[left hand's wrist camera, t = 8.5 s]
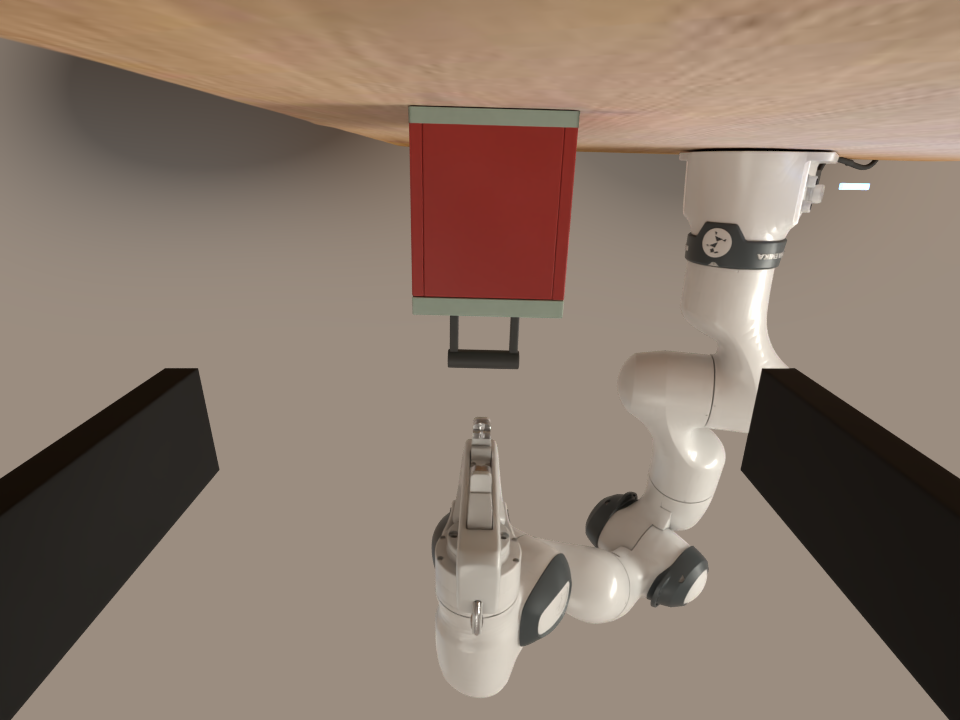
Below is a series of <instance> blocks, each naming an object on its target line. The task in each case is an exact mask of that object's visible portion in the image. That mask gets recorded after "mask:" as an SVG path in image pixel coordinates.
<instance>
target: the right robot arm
mask: <svg viewBox="0 0 960 720" xmlns="http://www.w3.org/2000/svg"><path fill="white" fill-rule="evenodd" d="M679 160H687V166H686V178H685V190H684V203H683V214H684V215H685V217H686V218H687V220H688V221H689V224H690V227H691V232H690V233H689V234H688V237H687V243H686V246H685V250H686V252H685V258H686V259H687V266H686V272H685V279H684V285H683V291H682V297H681V304H680V307H681V312H682V315H683V317H684V318H685V320H686V321H687V322H688V323H689V324H690V325H691V326H693V327H694V328H695V329H697V330H699V331H700V332H702V333H704V334H705V335H707V336H709V337H711V338H712V339H714V340H715V341H716V342H717V343H718V348H717V352H716V353H715V354H711V355H705V354H695V353H685V352H675V351H652V352H642V353H635V354H633V355H632V356H631V357H630V358H629V359H628V360H627V361H626V362H625V363H624V365H623V366H622V368H621V370H620V372H619V375H618V380H617V391H618V395H619V399H620V401H621V403H622V405H623V406H624V408H625V409H626V410H627V412H628V413H630V414H631V415H633V416H634V417H636V418H637V419H638V420H640V421H641V422H642V423H643V424H644V425H645V427H646V428H647V429H648V431H649V432H650V434H651V436H652V440H653V449H652V457H651V463H650V467H649V473H648V479H647V486H646V490H645V492H644V494H643V495H642V497H641V498H640V499H639V500H637V494H636V493H634V492H627V493H625V494H616V495H613V496H609V497H606V498H604V499H603V500H601V501H600V502H599V503H598V504H597V505H596V506H595V507H594V509H593V510H592V511H591V513H590V515H589V517H588V519H587V522H586V535H587V537H588V538H589V540H590V541H591V543H592V544H593V545H594V546H595V547H596V548H595V547H589V546H583V545H576V544H569V543H564V542H559V541H553V540H548V539H542V538H536V537H533V536H531V535H529V534H527V533H525V532H523V531H522V530H520V529H518V528H516V527H514V526H512V525H511V524H510V520H509V515H508V510H507V505H506V502H503V499H502V491H501V480H500V468H499V456H498V448H497V443H496V441H495V440H491V437H490V423H491V422H490V419H489V418H487V417H476V418H474V420H473V435H472V439H468V440H467V441H466V443H465V446H464V451H463V457H462V464H461V471H460V478H459V485H458V491H457V497H456V500H454V501H453V502H452V507H451V509H450V513H448V514H447V515H446V516H444V517H443V518H442V520H441V521H440V522H439V524H438V525H437V527H436V529H435V531H434V534H433V538H432V557H433V563H434V567H435V592H436V597H437V600H438V603H439V605H438V607H437V610H436V616H435V637H436V650H437V657H438V662H439V666H440V669H441V671H442V674H443V676H444V678H445V679H446V681H447V682H448V683H449V684H450V685H451V686H452V687H453V688H454V689H456V690H457V691H459V692H460V693H462V694H464V695H467V696H470V697H476V698H485V697H490V696H493V695H495V694H496V693H498V692H499V691H500V690H501V689H502V688H503V687H504V686H505V684H506V683H507V681H508V679H509V677H510V674H511V671H512V668H513V666H514V663H515V661H516V658H517V656H518V654H519V653H520V651H521V649H522V648H523V646H526V645H529V644H531V643H533V642H535V641H537V640H539V639H541V638H543V637H544V636H546V635H548V634H549V633H550V632H551V631H553V630H554V629H555V627H556V626H557V625H558V624H559V622H560V621H561V620H562V618H563V616H564V614H565V612H566V613H567V614H569V615H571V616H572V617H574V618H576V619H579V620H581V621H583V622H587V623H595V624H596V623H605V622H610V621H613V620H616V619H618V618H620V617H622V616H623V615H625V614H626V613H627V612H628V611H629V610H630V609H631V608H632V607H633V605H634V604H635V603H636V601H637V600H638V599H639V598H640V597H646V598H647V599H649V600H651V606H652V607H657V606H658V605H659V604H661V605H664V606H668V607H678V606H684V605H686V604H687V603H688V602H690V601H692V600H693V599H695V598H696V597H697V596H698V595H699V594H700V593H701V591H702V590H703V588H704V586H705V583H706V579H707V573H708V562H707V560H706V559H705V558H704V556H703V555H702V554H701V553H700V552H699V551H698V550H697V549H696V548H695V547H694V546H690V545H689V544H688V543H687V542H685V541H684V540H683V539H682V538H681V537H680V536H679V535H677V534H676V533H675V532H674V530H686V529H689V528H691V527H693V526H694V525H695V524H696V523H697V522H698V521H699V520H700V518H701V517H702V516H703V514H704V513H705V511H706V509H707V508H708V506H709V504H710V502H711V500H712V498H713V495H714V493H715V490H716V487H717V484H718V481H719V478H720V475H721V472H722V469H723V466H724V463H725V450H724V447H723V444H722V443H721V441H720V440H719V438H718V437H717V436H716V435H715V433H714V432H713V431H712V430H711V429H709V428H712V429H720V430H728V431H735V432H743V433H748V432H749V428H750V423H751V418H752V413H753V409H754V404H755V399H756V395H757V390H758V385H759V380H760V376H761V371H762V368H789V367H788V366H786V365H785V364H784V363H783V362H782V361H781V359H780V358H779V357H778V355H777V354H776V352H775V351H774V349H773V347H772V345H771V342H770V339H769V336H768V331H767V309H768V302H769V295H770V289H771V283H772V279H773V274H774V269H775V267H777V266H778V265H779V263H780V260H781V257H782V256H783V253H784V248H785V245H786V242H787V239H786V238H785V237H786V235H787V233H788V232H789V230H790V229H791V228H793V227H794V226H795V225H796V224H797V223H798V219H799V217H800V216H801V214H802V212H810V209H811V206H812V203H821V201H822V197H823V193H824V189H825V186H824V185H818V184H819V180H820V175H821V171H822V169H823V168H824V166H825V164H826V163H837V162H840V163H843V164H845V165H846V166H851V167H853V168H856V169H859V170H866V169H870V168H871V167H873V166H874V165H875V164H876V163H877V162H878V160H872V162H870V163H869V164H867V165H860V164H858V163H855V162H854V161H853V160H850V159H846V158H843V157H839V155H838V154H837V153H836V152H785V151H704V152H686V153H680V155H679ZM869 186H870V184H849V183H841V184H840V187H839V189H857V190H858V189H859V190H868V189H869Z"/></svg>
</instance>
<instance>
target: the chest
mask: <svg viewBox="0 0 960 720" xmlns="http://www.w3.org/2000/svg"><path fill="white" fill-rule="evenodd" d="M408 107H409V141H410V195H411V248H412V295H413V296H429V297H468V298H507V299H546V300H551V299H552V300H564V292H565V279H566V268H567V256H568V244H569V232H570V219H571V207H572V195H573V183H574V171H575V159H576V147H577V135H578V127H579V115H580V111H557V110H523V109H488V108H454V107H419V106H408Z"/></svg>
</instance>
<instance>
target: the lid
mask: <svg viewBox="0 0 960 720" xmlns="http://www.w3.org/2000/svg"><path fill="white" fill-rule="evenodd" d="M563 304H564V301H563V300H552V299H551V300H546V299H507V298H468V297H429V296H413V297H412V306H413V314H414V315H450V349H449V350H448V367H451V368H491V369H518V368H519V351H518V333H519V317H532V318H562V316H563ZM459 316H493V317H511V322H510V343H509V351H503V350H462V349H458V322H459Z"/></svg>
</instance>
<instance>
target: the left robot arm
mask: <svg viewBox="0 0 960 720" xmlns="http://www.w3.org/2000/svg"><path fill="white" fill-rule="evenodd" d="M218 471H219V466H218V461H217V456H216V451H215V447H214V442H213V437H212V432H211V428H210V423H209V418H208V413H207V409H206V404H205V399H204V395H203V390H202V385H201V380H200V376H199V371H198V368H165V369H163V370H162V371H160V372H159V373H157V374H156V375H154V376H153V377H151V378H150V379H148V380H147V381H145V382H144V383H142V384H141V385H139V386H138V387H136V388H135V389H133V390H132V391H130V392H129V393H128V394H126V395H125V396H123V397H122V398H120V399H119V400H117V401H116V402H114V403H113V404H111V405H110V406H108V407H107V408H105V409H104V410H102V411H101V412H99V413H98V414H96V415H95V416H93V417H92V418H90V419H89V420H87V421H86V422H84V423H83V424H81V425H80V426H78V427H77V428H75V429H74V430H72V431H71V432H69V433H68V434H66V435H65V436H63V437H62V438H60V439H59V440H57V441H56V442H54V443H53V444H51V445H50V446H48V447H47V448H45V449H44V450H42V451H41V452H39V453H38V454H36V455H35V456H33V457H32V458H30V459H29V460H27V461H26V462H24V463H23V464H21V465H20V466H18V467H17V468H16V469H14V470H13V471H11V472H10V473H8V474H7V475H5V476H4V477H2V478H1V479H0V720H11V719H12V718H13V716H14V715H15V714H16V713H17V712H18V711H19V709H20V708H21V707H22V706H23V705H24V703H25V702H26V701H27V700H28V699H29V697H30V696H31V695H32V694H33V692H34V691H35V690H36V689H37V688H38V686H39V685H40V684H41V683H42V682H43V681H44V679H45V678H46V677H47V676H48V675H49V673H50V672H51V671H52V670H53V669H54V667H55V666H56V665H57V664H58V663H59V661H60V660H61V659H62V658H63V656H64V655H65V654H66V653H67V652H68V651H69V649H70V648H71V647H72V646H73V645H74V643H75V642H76V641H77V640H78V639H79V637H80V636H81V635H82V634H83V633H84V631H85V630H86V629H87V628H88V627H89V625H90V624H91V623H92V622H93V621H94V619H95V618H96V617H97V616H98V615H99V613H100V612H101V611H102V610H103V609H104V607H105V606H106V605H107V604H108V603H109V601H110V600H111V599H112V598H113V597H114V595H115V594H116V593H117V592H118V591H119V589H120V588H121V587H122V586H123V585H124V583H125V582H126V581H127V580H128V579H129V578H130V576H131V575H132V574H133V573H134V571H135V570H136V569H137V568H138V567H139V565H140V564H141V563H142V562H143V561H144V560H145V558H146V557H147V556H148V555H149V554H150V552H151V551H152V550H153V549H154V547H155V546H156V545H157V544H158V543H159V542H160V540H161V539H162V538H163V537H164V536H165V534H166V533H167V532H168V531H169V530H170V528H171V527H172V526H173V525H174V524H175V522H176V521H177V520H178V519H179V518H180V516H181V515H182V514H183V513H184V512H185V510H186V509H187V508H188V507H189V506H190V504H191V503H192V502H193V501H194V500H195V498H196V497H197V496H198V495H199V494H200V492H201V491H202V490H203V489H204V488H205V486H206V485H207V484H208V483H209V482H210V480H211V479H212V478H213V477H214V476H215V474H216V473H217V472H218ZM741 471H742V472H743V473H744V474H745V476H746V477H747V478H748V479H749V480H750V482H751V483H752V484H753V485H754V486H755V488H756V489H757V490H758V491H759V492H760V494H761V495H762V496H763V497H764V498H765V500H766V501H767V502H768V503H769V504H770V506H771V507H772V508H773V509H774V510H775V512H776V513H777V514H778V515H779V516H780V517H781V519H782V520H783V521H784V522H785V524H786V525H787V526H788V527H789V528H790V530H791V531H792V532H793V533H794V534H795V536H796V537H797V538H798V539H799V540H800V541H801V543H802V544H803V545H804V546H805V548H806V549H807V550H808V551H809V552H810V554H811V555H812V556H813V557H814V558H815V560H816V561H817V562H818V563H819V564H820V565H821V567H822V568H823V569H824V570H825V572H826V573H827V574H828V575H829V576H830V578H831V579H832V580H833V581H834V582H835V583H836V585H837V586H838V587H839V588H840V589H841V591H842V592H843V593H844V594H845V595H846V597H847V598H848V599H849V600H850V601H851V603H852V604H853V605H854V606H855V607H856V609H857V610H858V611H859V612H860V613H861V615H862V616H863V617H864V618H865V619H866V621H867V622H868V623H869V624H870V625H871V627H872V628H873V629H874V630H875V631H876V633H877V634H878V635H879V636H880V637H881V639H882V640H883V641H884V642H885V643H886V645H887V646H888V647H889V648H890V649H891V651H892V652H893V653H894V654H895V655H896V657H897V658H898V659H899V660H900V661H901V663H902V664H903V665H904V666H905V667H906V669H907V670H908V671H909V672H910V673H911V675H912V676H913V677H914V678H915V679H916V681H917V682H918V683H919V684H920V685H921V687H922V688H923V689H924V690H925V691H926V693H927V694H928V695H929V696H930V697H931V699H932V700H933V701H934V702H935V703H936V705H937V706H938V707H939V708H940V709H941V711H942V712H943V713H944V714H945V715H946V716H947V718H948V719H949V720H960V479H959V478H958V477H956V476H955V475H953V474H952V473H950V472H949V471H947V470H946V469H944V468H943V467H941V466H940V465H938V464H937V463H936V462H934V461H933V460H931V459H930V458H928V457H927V456H925V455H924V454H922V453H921V452H919V451H918V450H916V449H915V448H913V447H912V446H910V445H909V444H907V443H906V442H904V441H903V440H901V439H900V438H898V437H897V436H895V435H894V434H892V433H891V432H889V431H888V430H886V429H885V428H883V427H882V426H880V425H879V424H877V423H876V422H874V421H873V420H871V419H870V418H868V417H867V416H865V415H864V414H862V413H861V412H859V411H858V410H856V409H855V408H853V407H852V406H850V405H849V404H847V403H846V402H844V401H843V400H841V399H840V398H838V397H837V396H835V395H834V394H832V393H831V392H830V391H828V390H827V389H825V388H824V387H822V386H821V385H819V384H818V383H816V382H814V381H813V380H812V379H810V378H809V377H807V376H806V375H804V374H803V373H801V372H800V371H798V370H797V369H795V368H762V371H761V376H760V380H759V385H758V390H757V395H756V399H755V404H754V409H753V413H752V418H751V423H750V428H749V432H748V437H747V442H746V447H745V451H744V456H743V461H742V466H741Z"/></svg>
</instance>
